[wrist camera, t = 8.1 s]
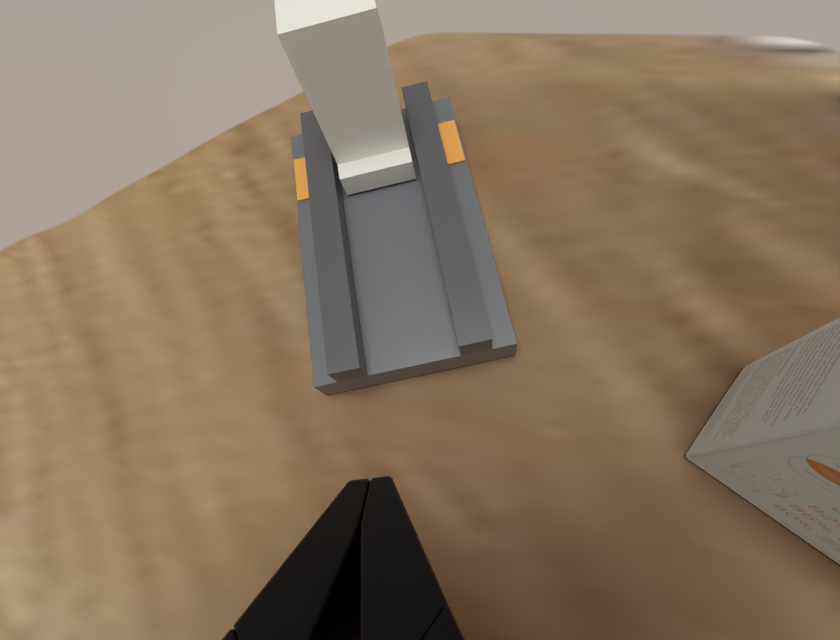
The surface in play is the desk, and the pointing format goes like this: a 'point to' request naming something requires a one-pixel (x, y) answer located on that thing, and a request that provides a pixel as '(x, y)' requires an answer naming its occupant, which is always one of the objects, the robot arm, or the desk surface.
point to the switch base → (397, 260)
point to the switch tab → (348, 87)
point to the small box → (783, 437)
